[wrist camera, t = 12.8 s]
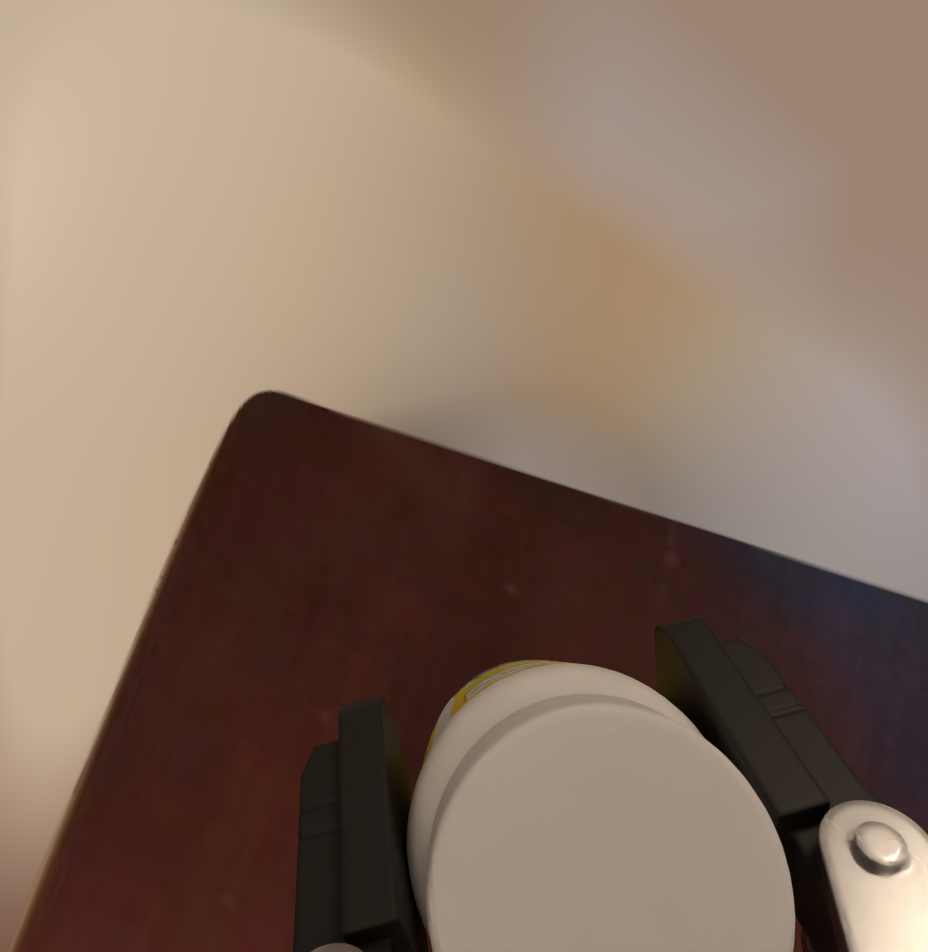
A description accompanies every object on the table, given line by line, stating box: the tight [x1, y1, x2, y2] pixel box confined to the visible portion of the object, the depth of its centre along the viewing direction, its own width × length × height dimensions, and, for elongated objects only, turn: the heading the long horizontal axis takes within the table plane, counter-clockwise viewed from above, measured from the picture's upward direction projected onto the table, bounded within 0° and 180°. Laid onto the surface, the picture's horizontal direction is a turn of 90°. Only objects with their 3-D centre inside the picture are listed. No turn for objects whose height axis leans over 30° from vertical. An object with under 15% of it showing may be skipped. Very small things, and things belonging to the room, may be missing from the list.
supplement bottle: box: [406, 660, 795, 952], centre depth 11 cm, size 5×5×8 cm
